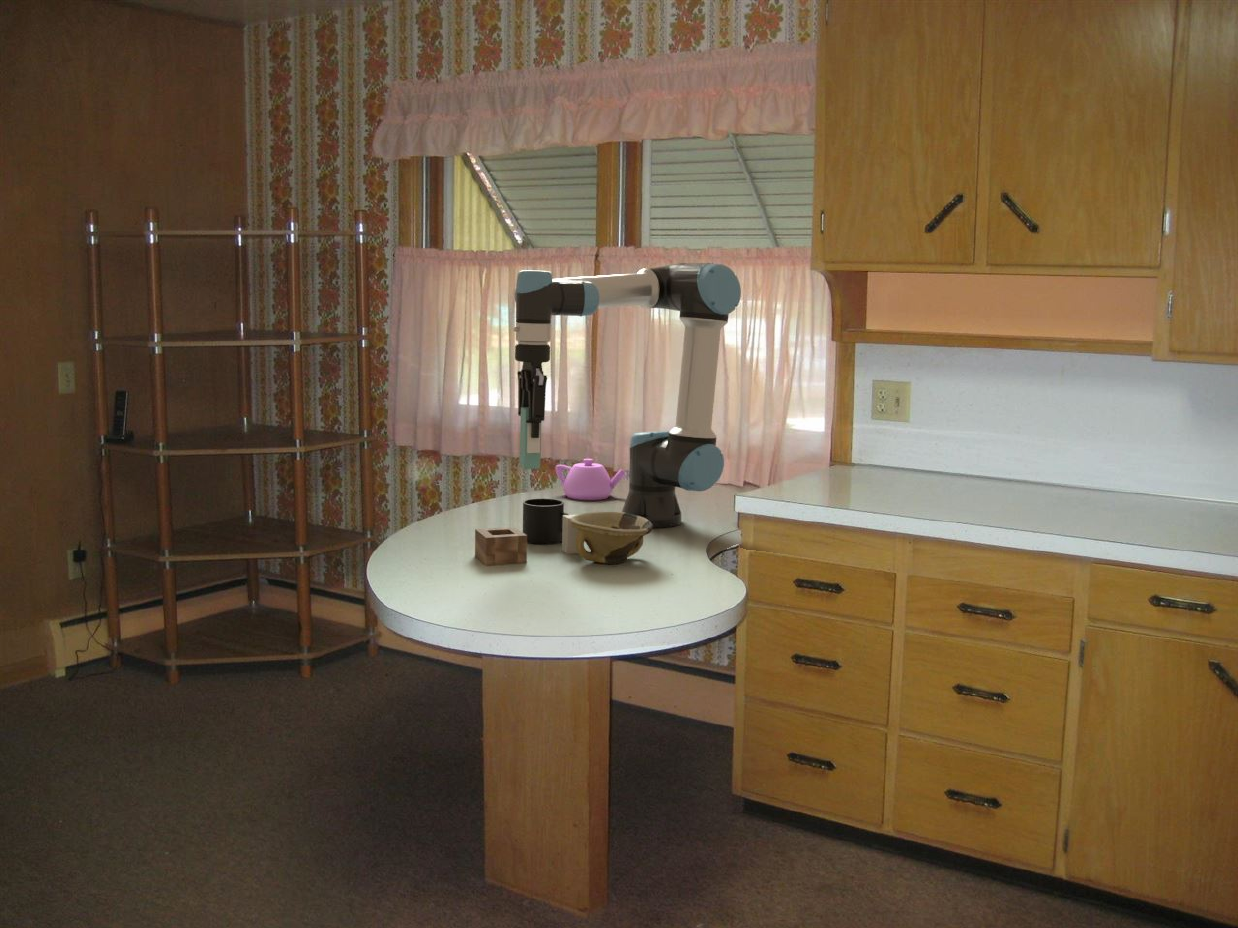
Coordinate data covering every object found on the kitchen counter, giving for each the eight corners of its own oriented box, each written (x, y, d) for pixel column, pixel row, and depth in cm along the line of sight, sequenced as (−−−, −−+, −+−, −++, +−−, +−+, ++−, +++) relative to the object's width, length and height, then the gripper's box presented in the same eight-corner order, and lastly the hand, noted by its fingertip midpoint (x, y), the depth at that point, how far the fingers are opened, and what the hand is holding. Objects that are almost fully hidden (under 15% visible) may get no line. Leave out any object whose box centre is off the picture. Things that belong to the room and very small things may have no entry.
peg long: (535, 466, 265) (536, 407, 263) (540, 468, 262) (541, 409, 260) (519, 466, 264) (520, 407, 262) (524, 469, 260) (525, 409, 258)
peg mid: (577, 549, 273) (577, 514, 271) (582, 552, 269) (583, 517, 268) (562, 550, 271) (562, 515, 270) (567, 553, 268) (567, 518, 267)
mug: (565, 547, 274) (565, 508, 273) (516, 542, 278) (516, 504, 276) (579, 539, 283) (579, 501, 282) (531, 534, 286) (532, 497, 285)
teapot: (622, 503, 329) (623, 464, 327) (550, 499, 331) (551, 461, 330) (628, 494, 343) (629, 457, 341) (559, 490, 345) (560, 453, 343)
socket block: (514, 553, 267) (514, 526, 266) (526, 562, 259) (527, 535, 258) (475, 555, 264) (475, 529, 263) (486, 565, 255) (486, 537, 254)
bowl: (592, 574, 250) (593, 529, 248) (556, 555, 266) (557, 513, 264) (666, 567, 258) (667, 523, 257) (627, 549, 274) (628, 507, 272)
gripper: (504, 340, 265) (502, 446, 268) (527, 345, 250) (525, 457, 253) (537, 341, 268) (535, 445, 271) (562, 345, 252) (559, 456, 256)
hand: (530, 451), depth 262 cm, fingers closed on peg long, 4 cm apart
